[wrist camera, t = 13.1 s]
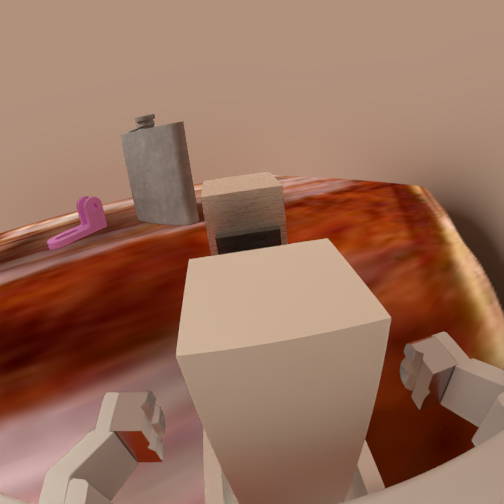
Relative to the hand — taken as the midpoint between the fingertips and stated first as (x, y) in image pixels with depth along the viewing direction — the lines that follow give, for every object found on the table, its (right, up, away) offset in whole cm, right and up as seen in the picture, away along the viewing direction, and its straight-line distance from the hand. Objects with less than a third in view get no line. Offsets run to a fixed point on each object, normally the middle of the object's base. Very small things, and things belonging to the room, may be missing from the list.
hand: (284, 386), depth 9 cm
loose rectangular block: (+1, -7, +3) cm, 8 cm away
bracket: (-37, +7, +49) cm, 62 cm away
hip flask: (-17, +10, +50) cm, 54 cm away
